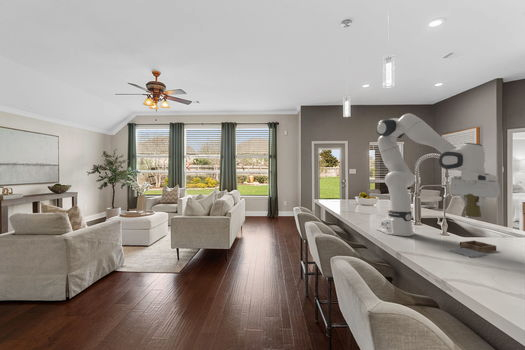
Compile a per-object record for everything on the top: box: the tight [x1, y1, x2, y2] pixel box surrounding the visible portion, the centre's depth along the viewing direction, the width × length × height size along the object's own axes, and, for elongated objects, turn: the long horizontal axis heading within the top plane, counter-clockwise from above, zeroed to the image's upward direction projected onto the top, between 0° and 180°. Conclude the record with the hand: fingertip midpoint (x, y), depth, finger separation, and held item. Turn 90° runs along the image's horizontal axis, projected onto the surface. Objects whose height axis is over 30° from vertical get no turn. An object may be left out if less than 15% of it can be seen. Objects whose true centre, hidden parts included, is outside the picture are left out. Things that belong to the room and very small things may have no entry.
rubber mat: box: [448, 247, 488, 258], centre depth 120 cm, size 10×10×1 cm
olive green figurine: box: [464, 194, 482, 218], centre depth 123 cm, size 6×6×11 cm
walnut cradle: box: [459, 240, 497, 254], centre depth 126 cm, size 10×10×2 cm
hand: (472, 205), depth 123 cm, fingers closed on olive green figurine, 4 cm apart
